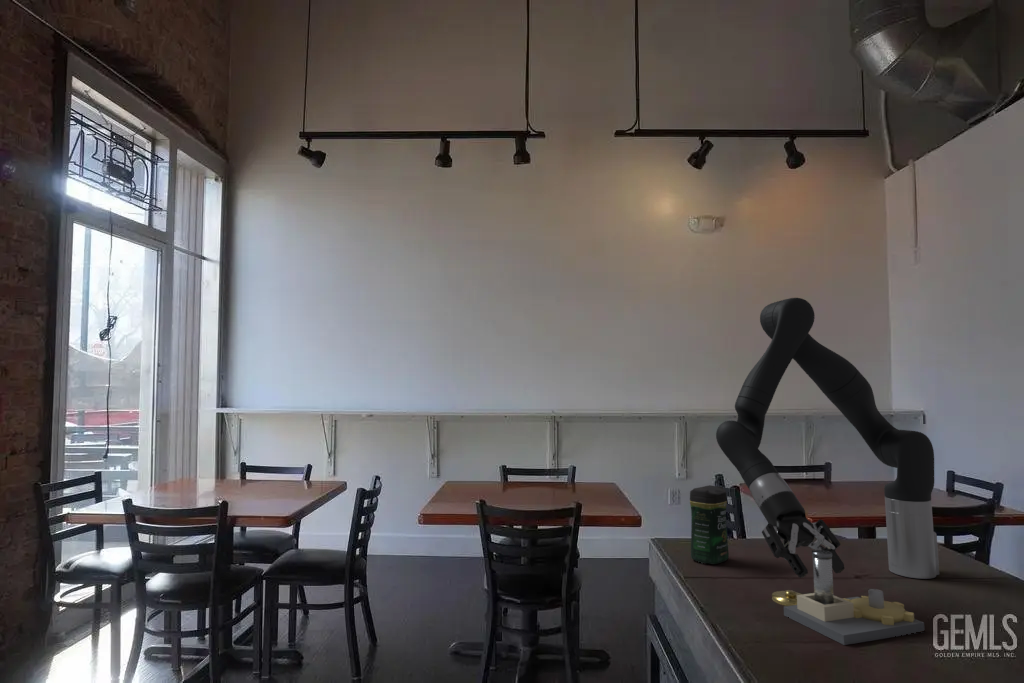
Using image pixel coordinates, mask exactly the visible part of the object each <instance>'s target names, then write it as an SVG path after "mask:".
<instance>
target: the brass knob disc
mask: <svg viewBox="0 0 1024 683" xmlns="http://www.w3.org/2000/svg"><path fill="white" fill-rule="evenodd" d="M802 594H803V593H800V592H798V591H797V592H796V591H795V590H791V589H786V590H777V591H774V592H772V594H771V597H772V598H771V600H772V601H773V602H774V603H776V604H778V605H781V606H783V607H785V606H792V605H797V595H802Z"/></svg>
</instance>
